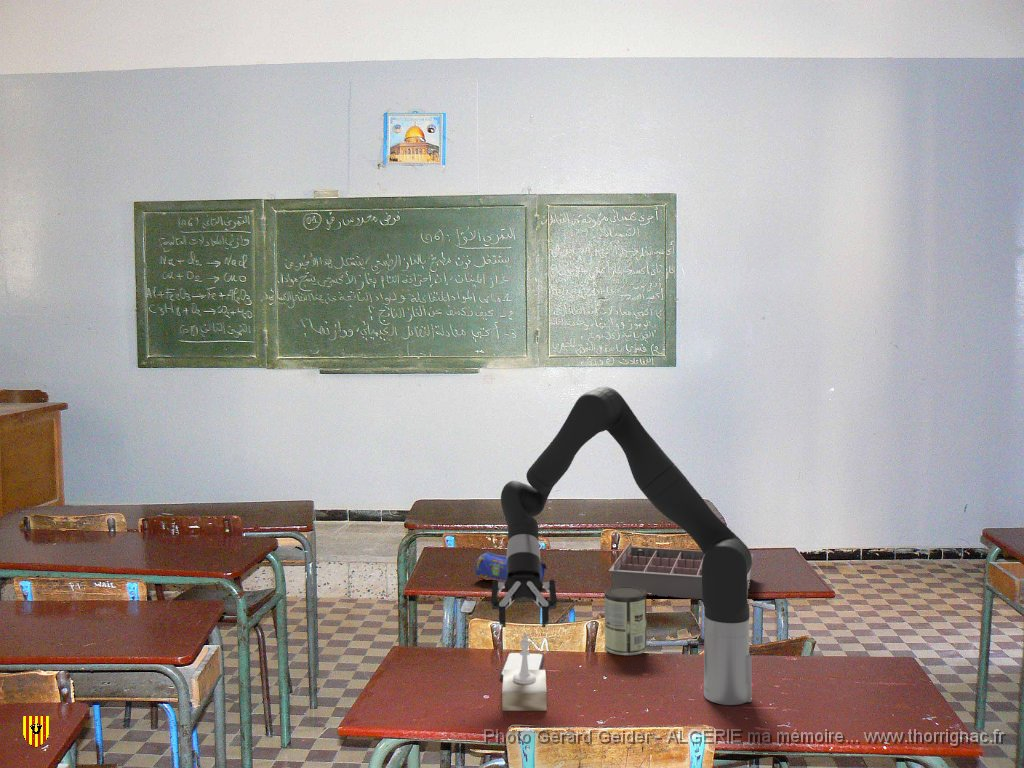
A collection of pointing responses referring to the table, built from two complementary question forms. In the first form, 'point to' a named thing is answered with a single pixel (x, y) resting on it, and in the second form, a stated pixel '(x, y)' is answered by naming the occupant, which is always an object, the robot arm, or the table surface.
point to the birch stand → (524, 692)
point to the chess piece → (524, 665)
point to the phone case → (515, 662)
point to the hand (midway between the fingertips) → (524, 625)
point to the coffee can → (625, 620)
